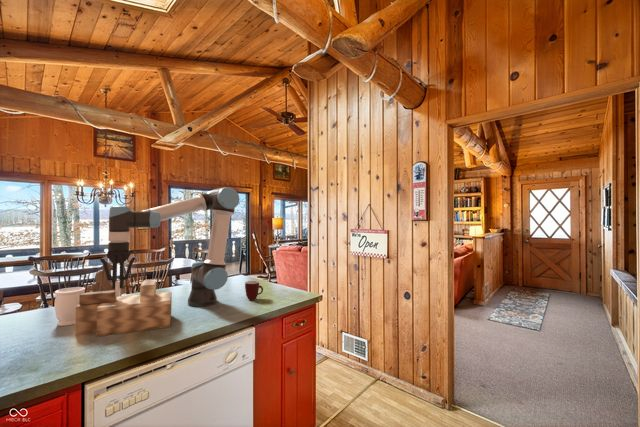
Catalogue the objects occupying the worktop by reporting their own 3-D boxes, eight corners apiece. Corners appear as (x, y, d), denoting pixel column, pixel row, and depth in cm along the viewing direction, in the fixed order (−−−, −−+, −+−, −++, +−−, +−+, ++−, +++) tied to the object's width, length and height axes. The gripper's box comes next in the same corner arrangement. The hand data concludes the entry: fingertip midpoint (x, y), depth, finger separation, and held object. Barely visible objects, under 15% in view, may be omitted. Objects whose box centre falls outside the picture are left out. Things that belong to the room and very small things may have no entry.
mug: (259, 296, 178) (259, 279, 178) (265, 299, 172) (265, 282, 172) (242, 298, 172) (243, 281, 172) (247, 302, 166) (248, 284, 166)
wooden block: (116, 299, 128) (116, 290, 128) (114, 301, 124) (114, 292, 124) (82, 302, 123) (82, 292, 123) (79, 304, 119) (79, 295, 119)
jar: (48, 325, 128) (49, 290, 128) (75, 317, 138) (75, 285, 138) (63, 328, 124) (64, 293, 125) (90, 320, 134) (90, 287, 134)
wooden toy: (84, 311, 148) (85, 261, 148) (86, 307, 153) (87, 259, 154) (120, 306, 156) (121, 259, 156) (121, 303, 161) (122, 258, 162)
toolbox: (171, 315, 142) (171, 291, 142) (169, 326, 128) (170, 300, 128) (84, 325, 128) (84, 299, 128) (71, 339, 113) (71, 310, 113)
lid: (171, 294, 142) (171, 277, 142) (170, 303, 128) (170, 284, 128) (106, 300, 131) (107, 281, 131) (97, 311, 117) (97, 290, 117)
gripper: (137, 240, 133) (136, 292, 132) (103, 241, 127) (101, 295, 127) (135, 241, 126) (134, 296, 126) (98, 242, 121) (96, 299, 120)
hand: (117, 296), depth 126 cm, fingers closed
